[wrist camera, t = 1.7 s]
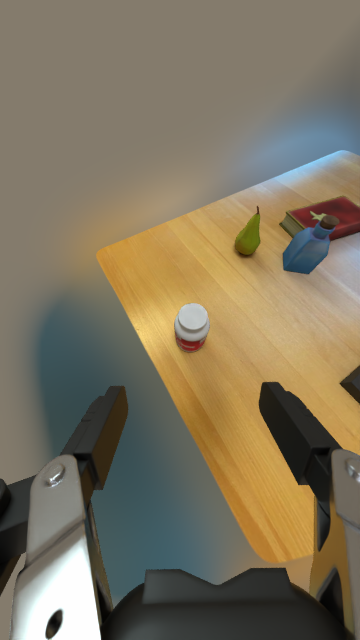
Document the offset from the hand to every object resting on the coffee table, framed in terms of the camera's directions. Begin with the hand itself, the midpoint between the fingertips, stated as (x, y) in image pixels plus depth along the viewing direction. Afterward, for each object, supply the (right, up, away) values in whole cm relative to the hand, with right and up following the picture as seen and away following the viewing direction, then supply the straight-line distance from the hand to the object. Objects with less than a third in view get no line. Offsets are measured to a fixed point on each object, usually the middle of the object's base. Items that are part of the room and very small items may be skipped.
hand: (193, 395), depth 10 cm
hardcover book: (+42, +32, +41) cm, 67 cm away
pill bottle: (+1, 0, +27) cm, 26 cm away
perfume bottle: (+30, +20, +35) cm, 50 cm away
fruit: (+17, +24, +38) cm, 48 cm away
